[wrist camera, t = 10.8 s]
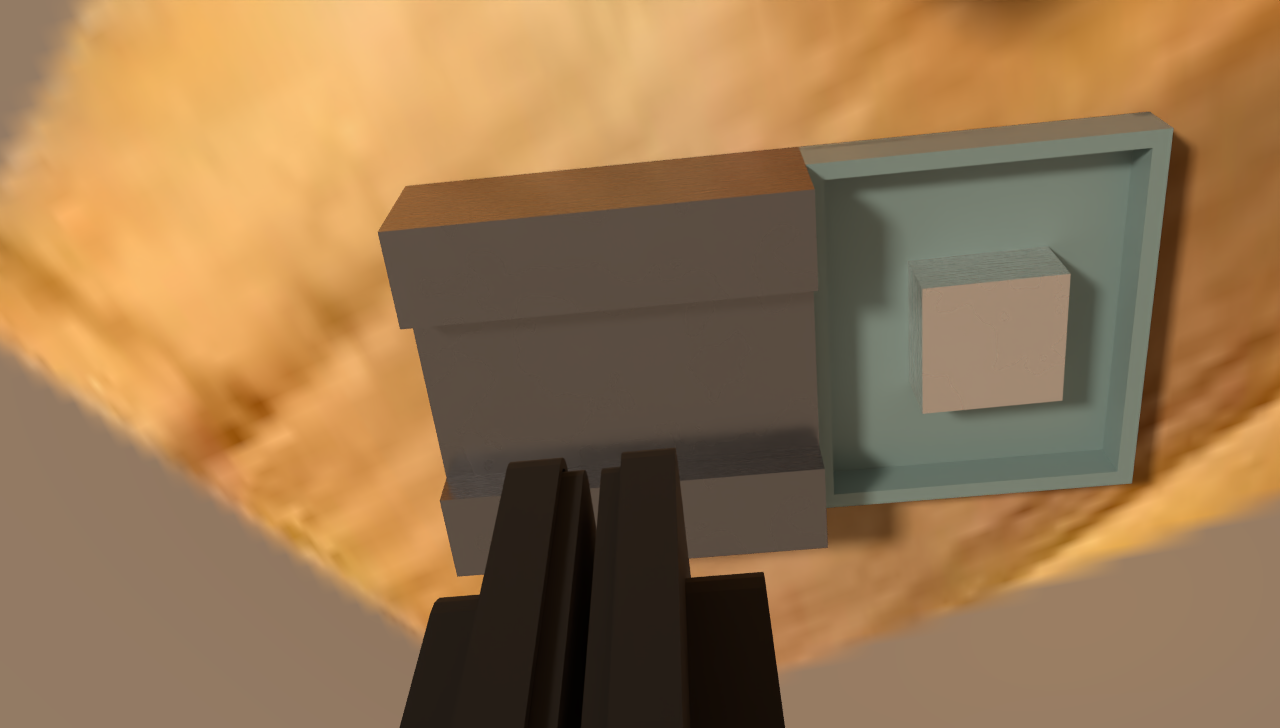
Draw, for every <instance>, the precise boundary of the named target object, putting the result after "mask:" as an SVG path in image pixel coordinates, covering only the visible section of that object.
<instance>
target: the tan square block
mask: <svg viewBox="0 0 1280 728" xmlns="http://www.w3.org/2000/svg"><path fill="white" fill-rule="evenodd" d="M1070 276H1071V274H1070V272H1069V271H1068V270H1067V269H1066V268H1065V266H1064V265H1063V264H1062V263H1061V261H1060V260H1059V259H1058V258H1057V257H1056V255H1055V254H1054V253H1053V252H1052V251H1051V249H1050V248H1049V247H1048V246H1045V247H1036V248H1026V249H1017V250H1007V251H997V252H988V253H978V254H969V255H959V256H949V257H940V258H930V259H921V260H911V261H908V341H909V382H910V385H911V387H912V390H913V392H914V394H915V397H916V399H917V402H918V404H919V407H920V409H921V411H922V414H926V413H937V412H947V411H958V410H968V409H979V408H990V407H1000V406H1011V405H1021V404H1032V403H1042V402H1053V401H1062V399H1063V384H1064V368H1065V353H1066V338H1067V322H1068V307H1069V292H1070Z"/></svg>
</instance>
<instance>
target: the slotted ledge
mask: <svg viewBox="0 0 1280 728" xmlns="http://www.w3.org/2000/svg"><path fill="white" fill-rule="evenodd" d="M378 235H379V240H380V244H381V248H382V253H383V257H384V261H385V266H386V270H387V274H388V278H389V283H390V287H391V291H392V296H393V300H394V304H395V309H396V313H397V317H398V322H399V326H400V329H410V328H413V330H414V335H415V339H416V344H417V348H418V353H419V357H420V361H421V366H422V370H423V375H424V379H425V384H426V388H427V393H428V397H429V401H430V406H431V410H432V415H433V419H434V424H435V428H436V433H437V437H438V441H439V446H440V450H441V455H442V459H443V464H444V468H445V473H446V477H447V478H446V482H445V485H444V488H443V492H442V495H441V499H440V503H441V508H442V512H443V516H444V521H445V525H446V529H447V534H448V538H449V542H450V547H451V551H452V555H453V560H454V564H455V568H456V573H457V577H458V576H470V575H483V574H484V573H485V568H486V563H487V559H488V554H489V549H490V545H491V540H492V535H493V531H494V526H495V521H496V517H497V512H498V507H499V503H500V498H501V493H502V489H503V484H504V479H505V475H506V470H507V467H508V464H509V463H510V462H517V461H529V460H540V459H552V458H564V459H565V461H566V464H567V468H568V471H579V470H586V472H587V475H588V480H589V485H590V492H591V498H592V504H593V511H594V517H595V523H596V530H597V517H598V504H599V491H600V479H601V470H602V468H613V467H620V466H621V454H622V452H632V451H643V450H655V449H666V448H676V453H677V460H678V468H679V477H680V486H681V495H682V504H683V513H684V522H685V530H686V539H687V548H688V557H689V558H701V557H714V556H727V555H739V554H752V553H765V552H778V551H791V550H803V549H816V548H828V541H827V513H826V486H825V467H824V463H823V459H822V455H821V451H820V447H819V421H818V395H817V369H816V343H815V317H814V291H818V265H817V237H816V210H815V189H814V186H813V183H812V181H811V178H810V175H809V173H808V170H807V168H806V165H805V162H804V160H803V157H802V154H801V152H800V149H799V147H793V148H783V149H773V150H763V151H753V152H743V153H733V154H723V155H713V156H703V157H693V158H683V159H673V160H663V161H653V162H643V163H633V164H623V165H613V166H603V167H593V168H583V169H573V170H563V171H553V172H543V173H533V174H523V175H513V176H503V177H494V178H484V179H474V180H464V181H454V182H444V183H434V184H424V185H414V186H405V188H404V190H403V191H402V193H401V195H400V196H399V198H398V200H397V201H396V203H395V205H394V206H393V208H392V209H391V211H390V213H389V214H388V216H387V218H386V219H385V221H384V223H383V224H382V226H381V228H380V229H379V231H378Z"/></svg>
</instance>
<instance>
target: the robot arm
mask: <svg viewBox="0 0 1280 728" xmlns="http://www.w3.org/2000/svg"><path fill="white" fill-rule="evenodd" d="M400 728H785V725H784V717H783V709H782V702H781V695H780V687H779V680H778V672H777V665H776V658H775V650H774V643H773V635H772V628H771V621H770V613H769V606H768V598H767V591H766V584H765V577H764V573H763V572H757V573H744V574H732V575H719V576H707V577H694V578H691V575H690V566H689V557H688V548H687V539H686V530H685V522H684V513H683V504H682V495H681V486H680V477H679V468H678V460H677V453H676V448H666V449H655V450H643V451H632V452H622V454H621V466H620V467H613V468H602V470H601V479H600V491H599V504H598V517H597V530H596V523H595V517H594V511H593V504H592V498H591V492H590V485H589V480H588V475H587V472H586V470H579V471H568V468H567V464H566V461H565V459H564V458H552V459H540V460H529V461H517V462H510V463H509V464H508V467H507V470H506V475H505V479H504V484H503V489H502V493H501V498H500V503H499V507H498V512H497V517H496V521H495V526H494V531H493V535H492V540H491V545H490V549H489V554H488V559H487V563H486V568H485V573H484V577H483V582H482V587H481V591H480V595H469V596H456V597H444V598H439V599H438V600H437V601H436V602H435V603H434V605H433V608H432V610H431V613H430V616H429V620H428V624H427V628H426V631H425V635H424V639H423V643H422V646H421V650H420V654H419V658H418V661H417V665H416V669H415V672H414V676H413V680H412V684H411V687H410V691H409V695H408V698H407V702H406V706H405V710H404V713H403V717H402V721H401V725H400Z"/></svg>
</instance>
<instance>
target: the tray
mask: <svg viewBox="0 0 1280 728" xmlns="http://www.w3.org/2000/svg"><path fill="white" fill-rule="evenodd" d="M1172 137H1173V127H1171V126H1170V125H1168V124H1167V123H1165V122H1164V121H1162V120H1161V119H1159V118H1158V117H1157V116H1155V115H1154V114H1152V113H1151V112H1142V113H1132V114H1122V115H1112V116H1102V117H1092V118H1082V119H1072V120H1062V121H1052V122H1042V123H1032V124H1022V125H1012V126H1002V127H992V128H982V129H972V130H962V131H952V132H942V133H933V134H923V135H913V136H903V137H893V138H883V139H873V140H863V141H853V142H843V143H833V144H823V145H813V146H803V147H799V149H800V152H801V154H802V157H803V160H804V162H805V165H806V168H807V170H808V173H809V175H810V178H811V181H812V183H813V186H814V189H815V210H816V237H817V265H818V291H814V317H815V343H816V369H817V395H818V421H819V447H820V451H821V455H822V459H823V463H824V467H825V486H826V508H831V507H844V506H856V505H869V504H881V503H894V502H906V501H919V500H931V499H943V498H956V497H968V496H981V495H993V494H1006V493H1018V492H1031V491H1043V490H1056V489H1068V488H1080V487H1093V486H1105V485H1118V484H1130V483H1132V478H1133V470H1134V461H1135V453H1136V444H1137V435H1138V427H1139V418H1140V410H1141V401H1142V393H1143V384H1144V376H1145V367H1146V359H1147V350H1148V342H1149V333H1150V325H1151V316H1152V307H1153V299H1154V290H1155V282H1156V273H1157V265H1158V256H1159V248H1160V239H1161V231H1162V222H1163V214H1164V205H1165V196H1166V188H1167V179H1168V171H1169V162H1170V154H1171V145H1172ZM1045 246H1048V247H1049V248H1050V249H1051V251H1052V252H1053V253H1054V254H1055V255H1056V257H1057V258H1058V259H1059V260H1060V261H1061V263H1062V264H1063V265H1064V266H1065V268H1066V269H1067V270H1068V271H1069V272H1070V274H1071V276H1070V292H1069V307H1068V322H1067V338H1066V353H1065V368H1064V384H1063V399H1062V401H1053V402H1042V403H1032V404H1021V405H1011V406H1000V407H990V408H979V409H968V410H958V411H947V412H937V413H926V414H922V411H921V409H920V407H919V404H918V402H917V399H916V397H915V394H914V392H913V390H912V387H911V385H910V382H909V341H908V261H911V260H921V259H930V258H940V257H949V256H959V255H969V254H978V253H988V252H997V251H1007V250H1017V249H1026V248H1036V247H1045Z"/></svg>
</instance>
